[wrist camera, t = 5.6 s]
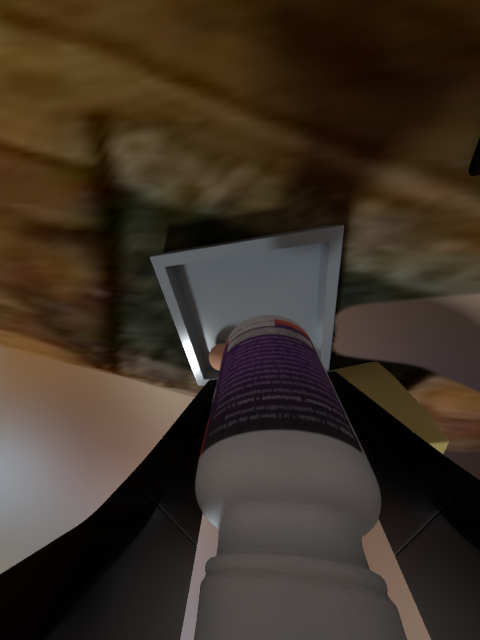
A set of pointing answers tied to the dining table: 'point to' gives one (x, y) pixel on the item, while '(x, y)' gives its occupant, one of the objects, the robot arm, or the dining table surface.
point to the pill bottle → (286, 500)
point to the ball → (216, 355)
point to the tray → (252, 288)
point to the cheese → (394, 400)
